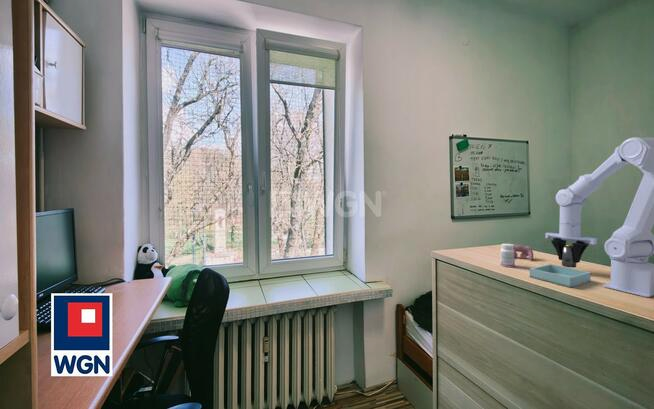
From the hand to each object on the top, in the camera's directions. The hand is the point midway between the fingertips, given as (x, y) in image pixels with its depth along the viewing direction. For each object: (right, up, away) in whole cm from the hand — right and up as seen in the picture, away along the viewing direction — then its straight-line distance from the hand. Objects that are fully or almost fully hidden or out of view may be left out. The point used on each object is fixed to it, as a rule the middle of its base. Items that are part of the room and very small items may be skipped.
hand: (569, 260), depth 100 cm
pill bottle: (-16, -4, +10) cm, 19 cm away
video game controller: (-5, -3, +20) cm, 20 cm away
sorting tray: (-10, -5, -7) cm, 13 cm away
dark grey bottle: (0, -2, 0) cm, 2 cm away
